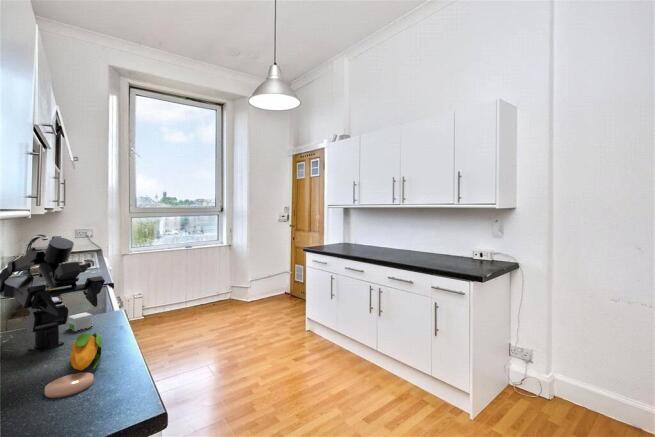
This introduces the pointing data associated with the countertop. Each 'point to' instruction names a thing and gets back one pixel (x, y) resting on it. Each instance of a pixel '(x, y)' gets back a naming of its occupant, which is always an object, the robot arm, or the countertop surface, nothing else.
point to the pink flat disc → (68, 385)
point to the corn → (85, 351)
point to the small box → (80, 321)
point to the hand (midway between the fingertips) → (78, 309)
